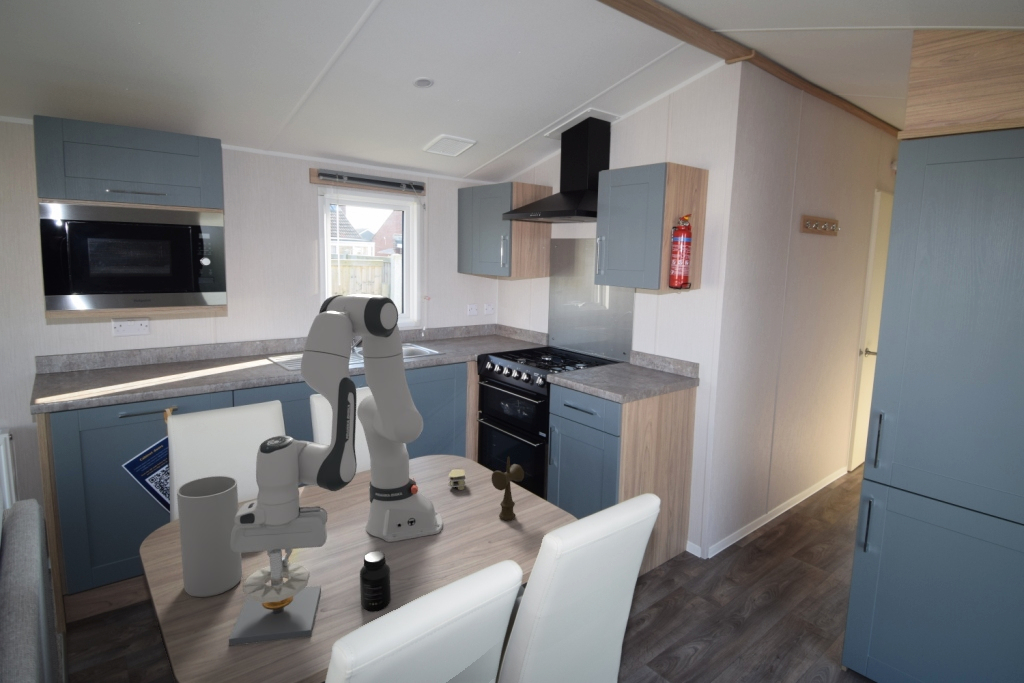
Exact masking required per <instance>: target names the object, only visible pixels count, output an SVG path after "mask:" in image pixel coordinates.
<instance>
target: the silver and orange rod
mask: <svg viewBox="0 0 1024 683" xmlns="http://www.w3.org/2000/svg"><path fill="white" fill-rule="evenodd" d="M282 554H283V553H282V550H280V549H275V550H272V551H271V552H270V557H269V566H270V570H271V580H270V583H271V584H270V586H277V585H280V584H283V583H284V578H283V571H282V556H283V555H282ZM292 601H293V596H292V597H289V598H287V599H284V600H281V601H277V602H267V603H262V606H263V607H264V608H266V609H269V610H272V611H273V613H274V614H279V613H281V612H283V611H284V607H285V606H287V605H289V604H290V603H291V602H292Z"/></svg>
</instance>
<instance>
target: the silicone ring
mask: <svg viewBox="0 0 1024 683" xmlns="http://www.w3.org/2000/svg"><path fill="white" fill-rule="evenodd" d="M282 571H283V579H287V580H286V581H284V582H283V584H280V585H277V586H271V585H269V584H268V585H267V583H268V582H271V570H270V565H267V566H265V567H261V568H259V569H257V570H255V571H254V572H253V573H251V574H250V575H249V576H247V577H246V579H245V582H244V584H243V585H242V592H243V594H244V595H245V598H246V599H247V598H248V600H252V601H256V602H260V603H267V602H277V601H281V600H284V599H287V598H289V597H292V596H294V595H296V594H298V593H299V592H300V591H301V590H302V589H304V588H305V587H308V583H309V580H310V571H309V570H308V569H307V568H306V567H305V565H303V564H299V563H295V562H291V561H290V562H288V566H284V567H282Z"/></svg>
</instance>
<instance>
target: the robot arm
mask: <svg viewBox="0 0 1024 683" xmlns="http://www.w3.org/2000/svg"><path fill="white" fill-rule="evenodd" d="M312 321H313V322H312V324H311V326H310V328H309V330H308V331H309V332H308V334H307V336H306V340H305V344H304V348H303V352H302V357H301V361H300V375H301V377H302V379H303V380H304V382H305V383H306V385H308V386H309V388H310V389H312V390H314V391H315V392H317V393H318V394H320V395H321V396H322V397H324V399H326V400H327V401H328V404H330V407H331V412H332V415H331V416H332V420H331V435H330V436H331V439H330V444H329V445H328V444H324V443H317V442H314V441H308V440H297V439H295V438H293V436H289V435H277V436H273V437H270V438H267V439H265V440H264V441H263V442H261V443H260V444H259V447H258V450H257V453H256V454H257V455H256V461H255V478H256V479H255V480H256V484H257V488H258V493H257V496H256V499H254V500H251V501H248V502H245V503H243V504H242V505H241V506H240V507H239V508H238V509H239V510H238V511H237V513H236V515H235V525H234V527H233V529H232V532H231V542H230V547H231V550H232V551H233V552H234V553H241V554H242V553H244V554H245V553H255V552H256V553H257V552H266V553H267V554H266V555H267V556H268V557H269V558H270V552H271V551H272V550H275V549H280V550H281V551H282V550H283V551H284V553H285V555H282V567H284V566H288V563H290V562H289V560H290V559H289V558H290V557H291V555H292V553H293V550H294V549H295V550H296V549H309V548H311V549H312V548H321V547H323V546H324V545H325V544H326V542H327V540H328V534H327V533H328V532H327V525H326V524H327V522H328V511H327V510H326V509H325V508H322V507H321V506H318V505H317V506H316V505H315V506H302V507H301V506H300V504H301V502H300V500H301V499H300V498H301V496H300V490H299V486H300V485H302V484H305V485H308V486H309V485H310V486H315V487H319V488H322V489H324V490H328V491H330V492H337V491H340V490H342V489H343V488H345V487H347V485H349V484H350V483H351V482H352V481H353V479H354V478H355V476H356V473H357V466H358V463H357V455H356V454H357V453H356V427H357V426H356V425H357V418H358V420H359V422H360V424H361V426H362V428H363V433H364V436H365V440H366V445H367V449H368V453H369V460H370V461H369V462H370V463H369V464H370V466H369V467H370V481H369V487H368V498H369V499H368V500H369V502H370V504H369V513H368V518H367V522H366V526H365V530H366V532H367V533H368V534H369V535H371V536H374V537H376V538H380V539H382V540H384V541H385V542H388V543H393V542H398V541H403V540H409V539H415V538H420V537H425V536H427V537H428V536H431V535H437V534H439V533H440V532H441V531H442V530H443V525H444V523H443V517H442V515H441V514H440V512H438V511H437V510H435V506H434V504H433V501H432V500H431V498H430V497H428V496H426V495H424V494H423V493H422V492H419V487H418V486H417V482H416V481H415V478H412V479H411V478H410V455H409V452H408V450H407V448H406V446H405V444H411V443H413V442H415V441H416V440H417V439H418V438H419V437H420V435H421V433H422V432H423V430H424V419H423V416H422V414H421V413H420V411H419V410H418V409H417V406H416V405H415V403H414V400H413V397H412V394H411V390H410V388H409V384H408V382H407V378H406V370H405V362H404V349H403V341H402V337H401V336H402V335H401V333H400V329H399V326H398V321H399V310H398V307H397V305H396V303H395V302H394V301H393V300H392V299H391V298H390V297H387V296H384V295H380V294H377V295H376V294H375V295H373V294H366V293H356V294H346V295H345V294H344V295H343V294H336V295H333V296H330V297H328V298H326V299H325V300H324V301H323V302H322V304H321V306H320V308H319V313H318V314H317V315H315V317H314V319H313V320H312ZM355 337H361V338H362V340H361V341H362V344H361V345H362V357H363V368H364V377H365V383H366V386H367V387H368V389H369V390H370V392H371V394H372V395H368V396H365V397H364V398H363V399H362V400H360V402H359V405H358V406H357V401H358V400H357V387H356V384H355V382H354V381H353V380H352V379H351V375H350V367H349V366H350V359H351V354H352V346H353V345H352V344H353V340H354V338H355Z"/></svg>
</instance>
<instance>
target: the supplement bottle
mask: <svg viewBox="0 0 1024 683" xmlns="http://www.w3.org/2000/svg"><path fill="white" fill-rule="evenodd" d="M386 562H387V559H386V554H385V552H383V551H380V550H375V551H374V550H373V551H369V552H368V553H366V554H365V555H364V556H363V566H362V567H361V569H360V571H359V590H360V606H361V608H362V609H363V610H364V611H366V612H369V613H378V612H381V611H383V610H385V609H386V608H388V606H389V605H390V604H391V600H392V597H391V595H392V594H391V593H392V592H391V589H392V588H391V568H390V565H389V564H388V563H386Z"/></svg>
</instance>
